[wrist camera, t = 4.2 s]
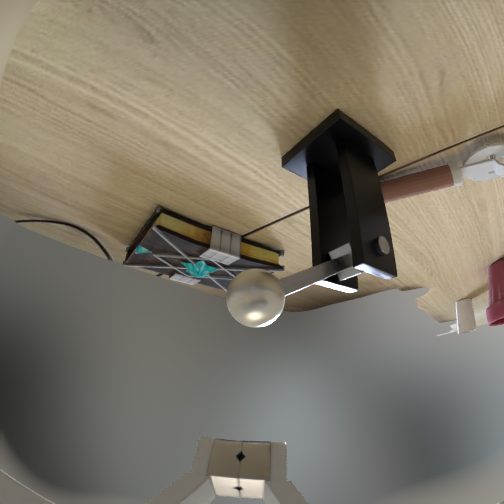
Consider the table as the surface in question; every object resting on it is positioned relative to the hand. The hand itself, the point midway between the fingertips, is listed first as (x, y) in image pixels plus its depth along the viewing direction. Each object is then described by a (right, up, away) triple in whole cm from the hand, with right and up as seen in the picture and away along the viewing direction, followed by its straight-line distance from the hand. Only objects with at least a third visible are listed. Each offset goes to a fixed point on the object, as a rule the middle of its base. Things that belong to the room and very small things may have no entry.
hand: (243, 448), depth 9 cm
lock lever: (+4, +7, +11) cm, 13 cm away
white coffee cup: (+67, -8, +66) cm, 94 cm away
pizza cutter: (+20, +16, +18) cm, 32 cm away
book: (-8, +8, +39) cm, 40 cm away
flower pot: (+57, +5, +39) cm, 69 cm away
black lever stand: (+9, +16, +18) cm, 26 cm away
